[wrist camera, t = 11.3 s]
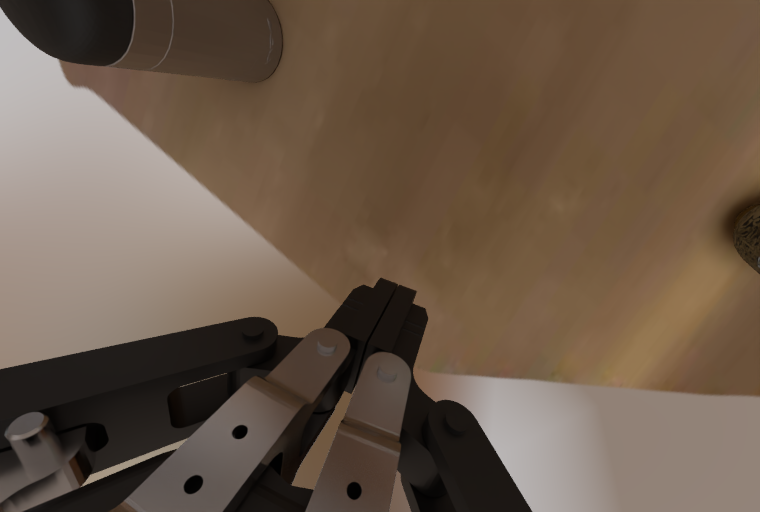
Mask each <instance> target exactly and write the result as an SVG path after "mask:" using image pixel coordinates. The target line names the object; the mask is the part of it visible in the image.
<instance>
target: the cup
mask: <svg viewBox="0 0 760 512" xmlns="http://www.w3.org/2000/svg"><path fill="white" fill-rule="evenodd" d="M734 229H735V230H734V234H733V241H734V245H735V248H736V250H737V251H738V253H739V254H740V256H741V257H742V258H743V259H744V260H745V261H746V262H747V263H748V264H749V265H750V266H751V267H752V268H753V269H754V270H756V271H757V272H758V273H759V274H760V204H757V205H754V206H751V207H749V208H747V209H745V210H744V211H742V212H741V213H740V214H739V215H738V216H737V218H736V220H735V222H734Z"/></svg>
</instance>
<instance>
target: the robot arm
mask: <svg viewBox="0 0 760 512" xmlns="http://www.w3.org/2000/svg"><path fill="white" fill-rule="evenodd" d="M0 7H1V9H2V10H3V12H4V13H5V15H6V16H7V17H8V19H9V20H10V21H11V22H12V24H13V25H14V26H15V27H16V28H17V29H18V30H19V32H20V33H21V34H22V35H23V36H24V37H25V38H26V39H28V40H29V41H30V42H31V43H32V44H34V46H36V47H37V48H39V49H40V50H42V51H43V52H45V53H46V54H48V55H50V56H52V57H54V58H57V59H60V60H63V61H66V62H71V63H77V64H84V65H94V66H105V67H114V68H123V69H132V70H144V71H153V72H162V73H171V74H180V75H189V76H198V77H207V78H216V79H225V80H233V81H242V82H260V81H263V80H265V79H266V78H268V77H269V76H270V75H271V74H272V73H273V72H274V70H275V68H276V67H277V65H278V62H279V59H280V56H281V50H282V34H281V28H280V24H279V21H278V18H277V15H276V13H275V11H274V9H273V7H272V5H271V4H270V3H269V1H268V0H0ZM397 287H398V288H397ZM416 293H417V291H415V290H412V289H410V288H407V287H404V286H402V285H399V286H398V284H396V283H394V282H391V281H388V280H386V279H383V278H380V279H379V280H378V282H377V283H376V285H375V286H374V288H371V287H368V286H366V285H362V286H359V287H357V288H355V289H353V291H352V292H351V293H350V294H349V296H348V297H347V299H346V300H345V301H344V302H343V304H342V305H341V306H340V308H339V309H338V310H337V311H336V313H335V314H334V315H333V316H332V318H331V319H330V320H329V322H328V323H327V324H326V326H325V327H324V328H320V329H316V330H314V331H312V332H310V333H309V334H308V335H307V336H306V337H304V338H297V337H289V336H281V335H278V330H277V327H276V326H275V324H274V323H273V322H271V321H270V320H268V319H265V318H261V317H248V318H243V319H238V320H234V321H229V322H225V323H219V324H214V325H210V326H205V327H201V328H195V329H191V330H186V331H181V332H177V333H172V334H167V335H163V336H158V337H152V338H148V339H143V340H138V341H134V342H129V343H124V344H119V345H114V346H109V347H105V348H100V349H95V350H90V351H86V352H81V353H76V354H71V355H67V356H62V357H57V358H52V359H48V360H43V361H38V362H33V363H28V364H24V365H19V366H14V367H9V368H4V369H0V512H389V509H390V504H391V499H392V493H393V488H394V483H395V477H396V472H397V470H398V471H399V472H400V473H401V482H402V486H403V489H404V491H405V494H406V497H407V500H408V503H409V506H410V509H411V511H412V512H532V511H531V509H530V507H529V506H528V504H527V503H526V501H525V499H524V497H523V496H522V494H521V492H520V491H519V489H518V487H517V486H516V484H515V483H514V481H513V479H512V478H511V476H510V474H509V473H508V471H507V469H506V468H505V466H504V464H503V463H502V461H501V459H500V458H499V456H498V454H497V453H496V451H495V450H494V448H493V446H492V445H491V443H490V441H489V440H488V438H487V436H486V435H485V433H484V431H483V430H482V428H481V426H480V425H479V423H478V421H477V420H476V418H475V417H474V415H473V414H472V413H471V412H470V411H469V410H468V409H467V408H465V407H464V406H463V405H461V404H459V403H457V402H454V401H451V400H441V401H438V402H435V401H433V400H432V399H431V398H430V397H428V396H427V395H426V394H425V393H424V392H423V391H422V390H421V389H420V388H419V387H418V385H417V383H416V382H415V379H414V376H413V367H414V363H415V360H416V357H417V354H418V350H419V347H420V344H421V341H422V337H423V334H424V331H425V328H426V324H427V321H428V316H427V313H426V309H425V308H423V307H420V306H418V305H415V304H413V301H414V298H415V296H416ZM224 373H227V374H224ZM221 374H223V375H221ZM217 375H220V376H217ZM214 376H217V377H214ZM210 377H213V378H210ZM207 378H210V379H207ZM204 379H207V380H204ZM200 380H203V381H200ZM197 381H200V382H197ZM194 382H196V383H194ZM190 383H193V384H190ZM187 384H190V385H187ZM183 385H187V386H183ZM180 386H183V387H180ZM355 386H356V387H355ZM354 388H355V390H354ZM353 390H354V393H353V396H352V398H351V401H350V403H349V406H348V408H347V411H346V413H345V416H344V418H343V420H342V421H341V423H340V425H339V427H338V430H337V432H336V435H335V437H334V440H333V442H332V445H331V447H330V450H329V452H328V455H327V458H326V460H325V463H324V465H323V468H322V470H321V473H320V476H319V478H318V481H317V483H316V486H315V488H314V490H311V489H306V488H300V487H295V486H291V485H292V483H293V481H294V478H295V476H296V473H297V471H298V469H299V467H300V465H301V463H302V461H303V460H304V458H305V457H306V455H307V454H308V452H309V450H310V449H311V447H312V446H313V444H314V442H315V441H316V439H317V437H318V436H319V434H320V433H321V431H322V430H323V428H324V427H325V425H326V423H327V422H328V420H329V419H330V417H331V415H332V414H333V412H334V410H335V407H336V405H337V403H338V401H339V400H340V398H341V396H342V394H343V392H344V391H346V392H348V393H350V394H351V393H352V392H353ZM186 438H188V439H187V440H186V441H185V442H184V443H183V444H182V445H181V446H180V447H179V448H178V449H175V450H172V451H169V452H165V453H162V454H160V455H157V456H155V457H152V458H150V459H148V460H145V461H143V462H140V463H138V464H135V465H133V466H131V467H128V468H126V469H123V470H121V471H119V472H116V473H114V474H111V475H109V476H107V477H104V478H102V479H99V480H97V481H95V482H92V483H90V484H87V485H85V486H83V487H81V486H82V485H83V484H84V482H85V481H86V480H87V479H88V477H89V476H90V475H91V474H94V473H96V472H99V471H102V470H104V469H107V468H109V467H112V466H115V465H117V464H120V463H123V462H125V461H128V460H130V459H133V458H136V457H138V456H141V455H144V454H146V453H149V452H152V451H154V450H157V449H160V448H162V447H165V446H167V445H170V444H173V443H175V442H178V441H181V440H184V439H186Z"/></svg>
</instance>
